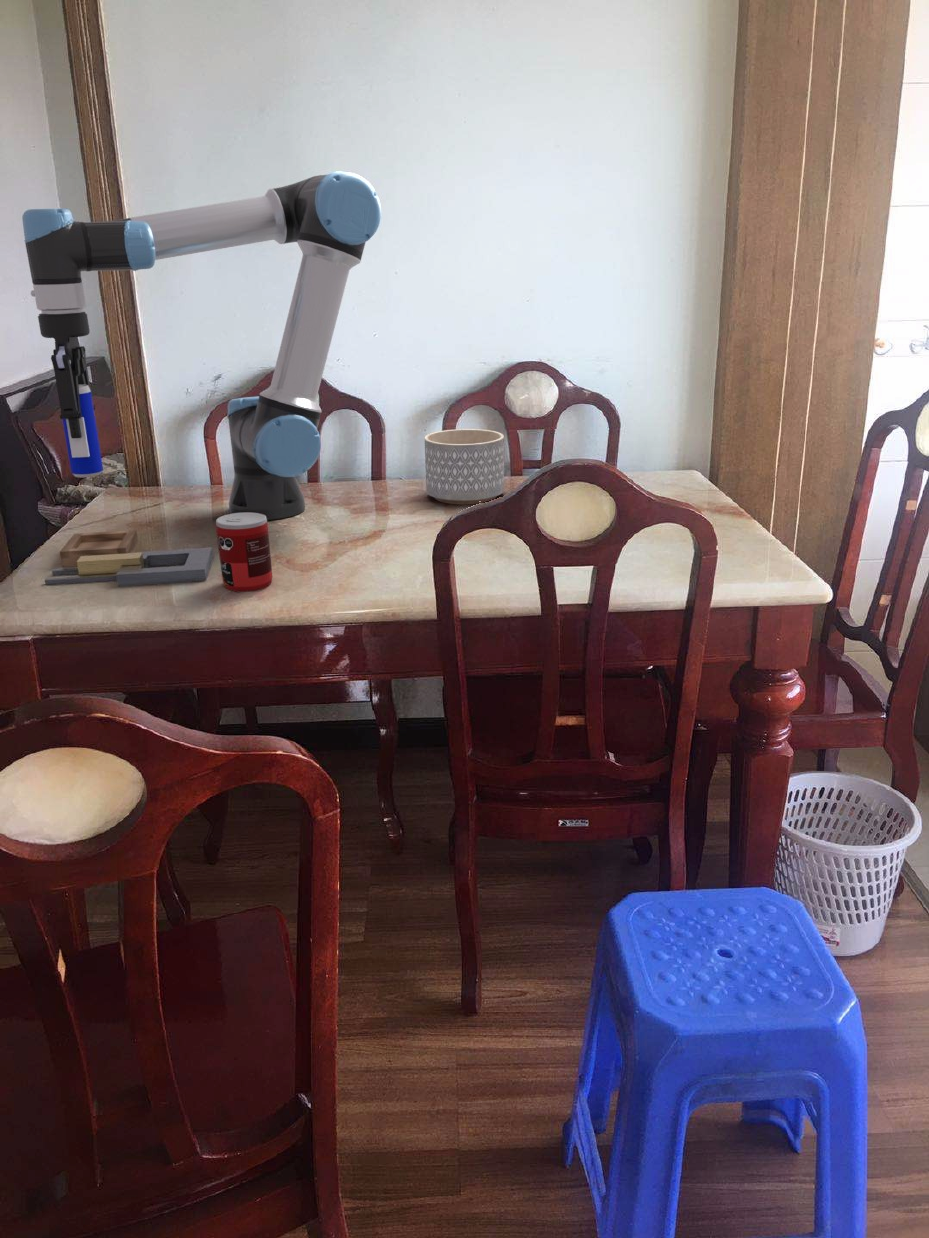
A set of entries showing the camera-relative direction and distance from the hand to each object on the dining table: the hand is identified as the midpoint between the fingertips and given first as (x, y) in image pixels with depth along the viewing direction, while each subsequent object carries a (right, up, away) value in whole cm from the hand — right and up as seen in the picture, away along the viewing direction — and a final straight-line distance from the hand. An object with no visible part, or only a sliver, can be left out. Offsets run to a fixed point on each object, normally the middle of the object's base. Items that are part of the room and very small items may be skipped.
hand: (84, 452), depth 170 cm
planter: (+65, -3, +40) cm, 76 cm away
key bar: (+6, -21, -4) cm, 22 cm away
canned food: (+30, -23, -9) cm, 39 cm away
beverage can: (0, -4, +1) cm, 4 cm away
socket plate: (+9, -21, -3) cm, 23 cm away
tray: (0, -17, +7) cm, 18 cm away
